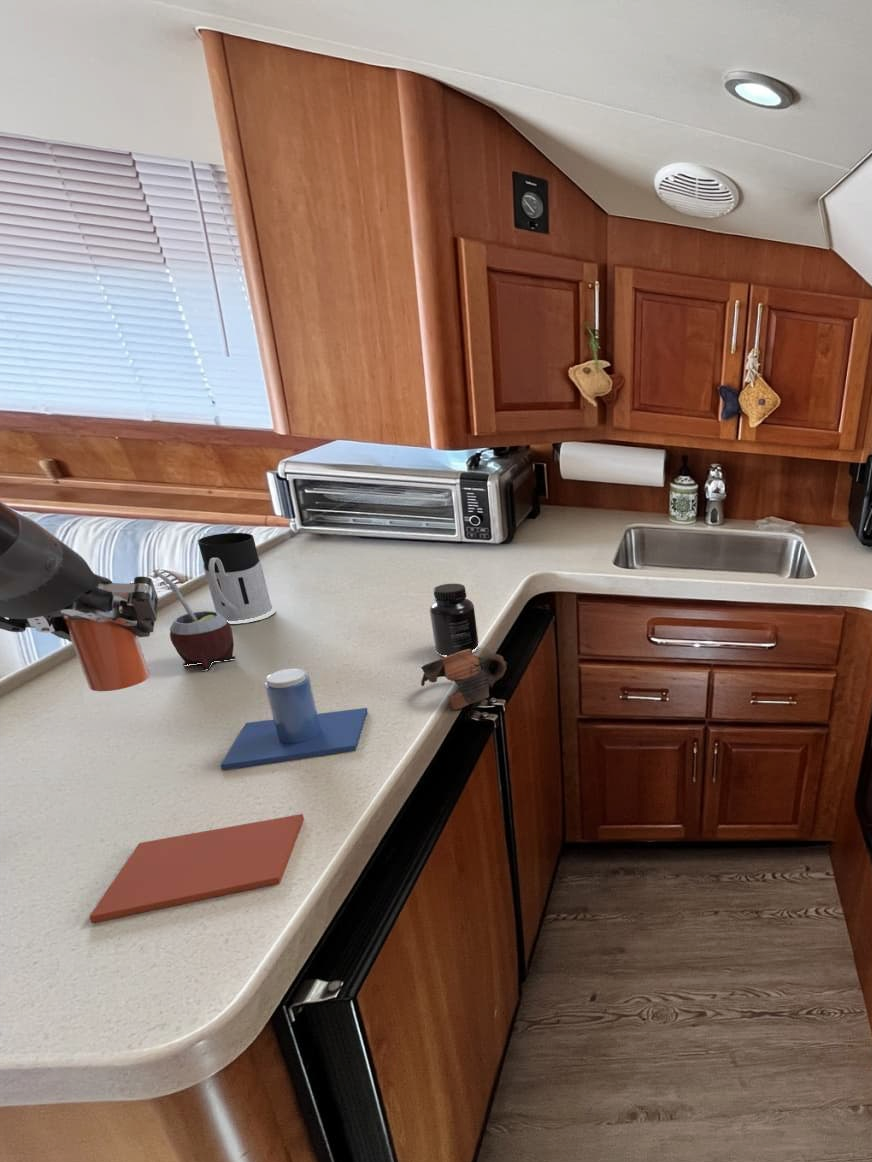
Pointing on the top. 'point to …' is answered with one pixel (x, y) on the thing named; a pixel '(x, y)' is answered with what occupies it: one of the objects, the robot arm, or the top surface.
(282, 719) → the cylinder
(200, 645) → the mate gourd
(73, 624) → the cylinder
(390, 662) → the top surface
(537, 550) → the top surface
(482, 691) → the pottery mug
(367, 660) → the top surface
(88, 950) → the top surface
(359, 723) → the blue mat
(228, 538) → the grey coffee mug
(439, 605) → the supplement bottle
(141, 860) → the terracotta mat
